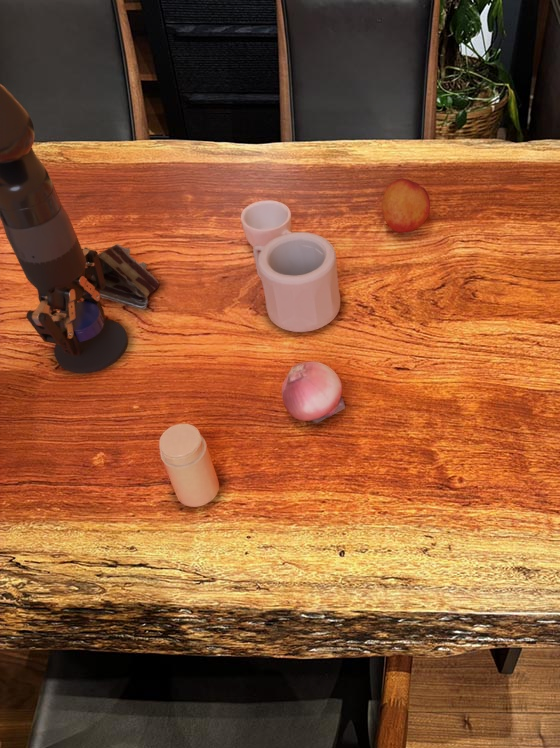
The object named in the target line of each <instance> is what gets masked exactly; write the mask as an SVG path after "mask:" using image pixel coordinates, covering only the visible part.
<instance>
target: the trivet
mask: <svg viewBox="0 0 560 748" xmlns="http://www.w3.org/2000/svg"><path fill="white" fill-rule="evenodd" d="M79 344H80V346H81V348H82V350H83V352H82V354H81V355H80V356H74V355H69V354H66V353H64V351H63V349H62V347H61V345H59V344H54V345H55V346H54V350H53V351H54V352H53V353H54V357H55V359H56V361H57V363H58V365H59V366H60V367H61V368H62V369H63V370H66V371H67V372H70V373H73V374H79V375H82V374H92V373H93V374H94V373H97V372H100V371H103V370H105V369H107V368H109V367H111V366H113V365H114V364H115V363H116V362H118V361H119V360H120V359H121V358H122V357H123V355H125V353H126V351H127V349H128V345H129V337H128V334H127V332H126V330H125V328H124V327H123V325H121V324H120V323H119V322H117V321H114V320H112V319H110V318H109V319H108V318H105V321H104V325H103V328H102V330H101V331H100V332H99V333H98V334H97V335H96V336H95V337H93V338H91V339H89V340H86V341H83V342H79Z"/></svg>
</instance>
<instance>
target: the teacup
mask: <svg viewBox="0 0 560 748" xmlns="http://www.w3.org/2000/svg"><path fill="white" fill-rule="evenodd" d="M240 222H241V223H240V224H241V227H242V230H243V233H244V237H245V239H246V241H247V243H248V244H249V245H250V246H251V247H252V248H253V247H254V246H256V245H260V246H265V245H266V244H267V243H268V242H270V241H271V240H273V239H274V238H276V237H278V236H281V235H284V234H287V233H293V232H292V212H291V210H290V208H289V207H288V206H287V205H286V204H285V203H283V202H280V201H277V200H272V199H270V200H269V199H265V200H259V201H255V202H253V203H251V204H249V205H247V206H246V207H245V208H243V210H242V212H241V214H240Z"/></svg>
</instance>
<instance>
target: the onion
mask: <svg viewBox="0 0 560 748" xmlns="http://www.w3.org/2000/svg"><path fill="white" fill-rule="evenodd" d="M342 394H343V383H342V381H341V379H340V377H339V376H338V374H337V373H336V372H335V370H334V369H332V368H331V367H330V366H329V365H326V364H324V363H322V362H319V361H316V360H315V361H314V360H312V361H304V362H298V363H296V364H295V365H293V366H292V367H291V368H290V370H289V371H288V373H287V375H286V376H285V378H284V381H283V382H282V385H281V398H282V404H283V405H284V408H285V410H286V411H287V412H288V413H289V415H290V416H291V417H292V418H293V419H296V420H298V421H304V422H309V421H310V422H312V423H313V424H318V423H320V422H322V421H324V420H326V419H328V418H330V417H331V416H333V415H335V414H337V413H339V412H341V411H343V410H345V409H346V405H345V402H344V398H343V396H342Z"/></svg>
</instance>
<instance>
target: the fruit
mask: <svg viewBox="0 0 560 748" xmlns="http://www.w3.org/2000/svg"><path fill="white" fill-rule="evenodd" d="M430 212H431V199H430V195H429V194H428V191H427V190H426V188H425V187H423V186H422V185H420V184H419V183H416V182H415V181H412V180H411V179H409V178H404V177H403V178H398V179H396V180H394V181H392V182H390V184H389V185H388V186H387V187H386V189H385V191H384V193H383V196H382V200H381V214H382V216H383V219H384V220H385V222H386V224H387V226H388V227H389V228H390V229H391V230H392V231H394V232H396V233H398V234H399V233H401V234H402V233H403V234H404V233H411V232H414V231H416V230H417V229H419V228H420V227H421V226H422V225H423V224H424V223H425V222H426V221H427V218H428V217H429V215H430Z"/></svg>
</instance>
